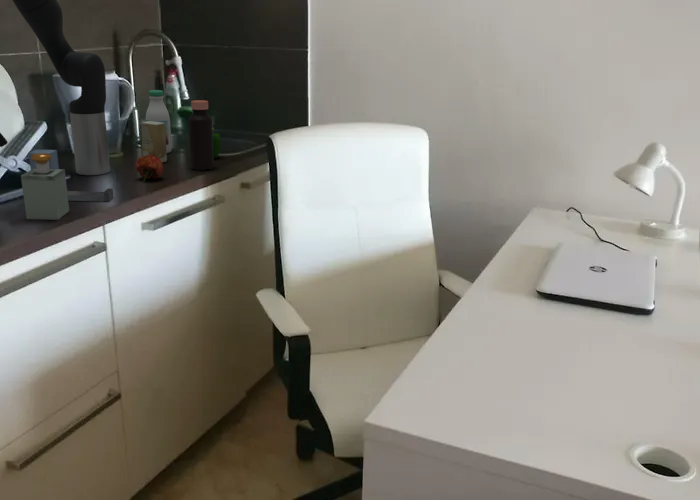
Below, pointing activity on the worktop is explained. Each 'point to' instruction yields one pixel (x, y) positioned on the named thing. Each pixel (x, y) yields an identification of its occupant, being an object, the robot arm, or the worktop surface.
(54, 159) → the upright slate-blue block
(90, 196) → the rail
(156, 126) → the skincare box
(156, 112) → the milk bottle
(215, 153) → the bell pepper
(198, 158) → the vinegar
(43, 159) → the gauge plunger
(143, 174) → the red round fruit
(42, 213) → the grey upright block
